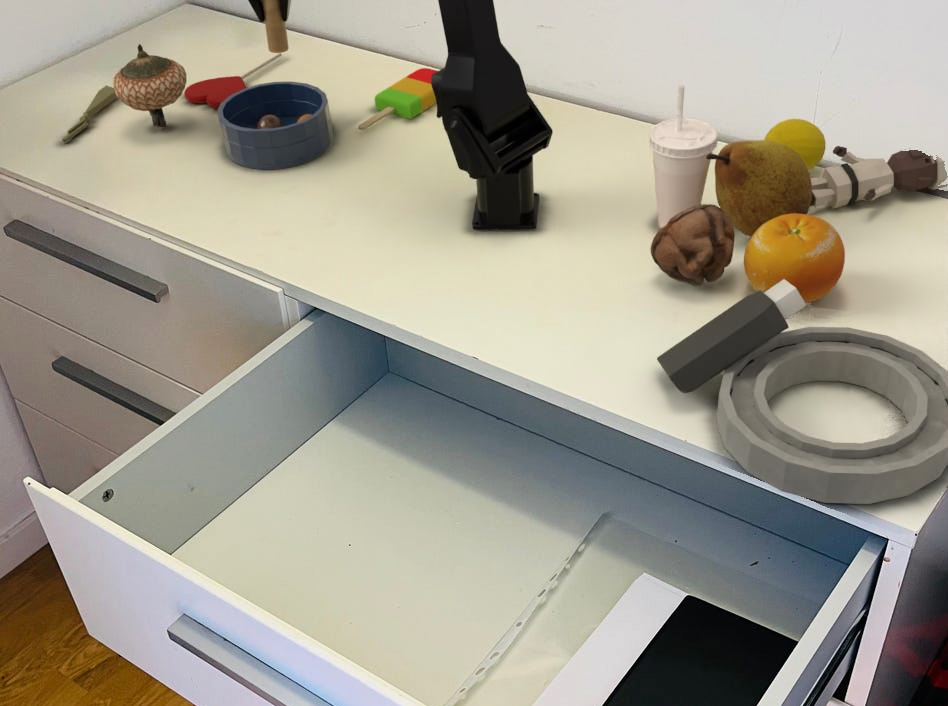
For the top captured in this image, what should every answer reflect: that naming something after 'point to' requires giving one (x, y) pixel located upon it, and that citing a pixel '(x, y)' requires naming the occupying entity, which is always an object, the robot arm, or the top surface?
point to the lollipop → (219, 87)
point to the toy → (876, 177)
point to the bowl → (281, 142)
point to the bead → (269, 122)
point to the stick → (275, 27)
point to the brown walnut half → (695, 245)
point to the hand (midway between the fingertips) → (274, 20)
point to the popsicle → (404, 97)
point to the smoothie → (680, 161)
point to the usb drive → (730, 336)
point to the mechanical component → (823, 462)
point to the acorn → (150, 84)
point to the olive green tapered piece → (92, 110)
